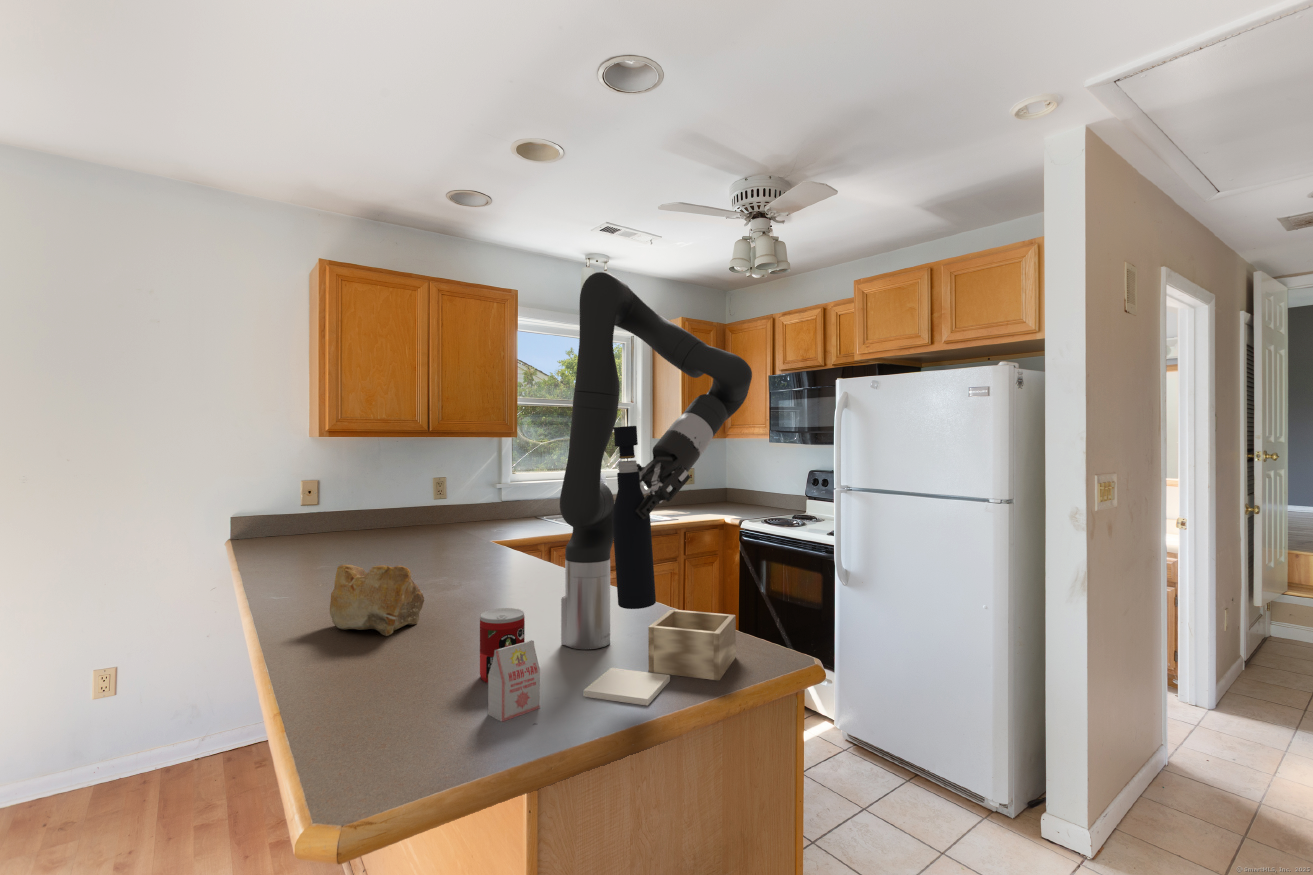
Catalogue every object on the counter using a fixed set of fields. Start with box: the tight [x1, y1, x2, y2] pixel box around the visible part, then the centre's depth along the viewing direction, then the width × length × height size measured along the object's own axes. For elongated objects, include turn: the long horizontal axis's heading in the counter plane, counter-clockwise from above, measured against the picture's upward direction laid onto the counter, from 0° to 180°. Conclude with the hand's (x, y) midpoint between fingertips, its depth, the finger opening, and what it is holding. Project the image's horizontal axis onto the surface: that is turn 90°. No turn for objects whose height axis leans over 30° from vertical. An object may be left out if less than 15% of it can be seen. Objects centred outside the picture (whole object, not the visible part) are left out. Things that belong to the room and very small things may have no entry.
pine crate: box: [647, 609, 737, 681], centre depth 117 cm, size 13×13×8 cm
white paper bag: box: [487, 640, 541, 722], centre depth 96 cm, size 4×7×10 cm, turn 137°
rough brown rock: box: [329, 564, 425, 637], centre depth 142 cm, size 23×17×15 cm
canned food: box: [479, 607, 526, 684], centre depth 111 cm, size 8×8×11 cm
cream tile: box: [583, 667, 671, 707], centre depth 105 cm, size 11×11×1 cm
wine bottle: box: [612, 425, 657, 610], centre depth 106 cm, size 6×6×30 cm
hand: (628, 513), depth 106 cm, fingers closed on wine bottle, 6 cm apart
